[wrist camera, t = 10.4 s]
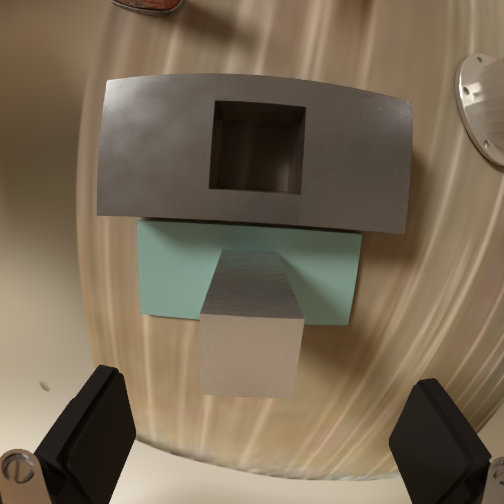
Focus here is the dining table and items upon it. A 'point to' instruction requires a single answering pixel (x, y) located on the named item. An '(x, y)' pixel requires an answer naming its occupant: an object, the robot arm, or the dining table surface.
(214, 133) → the rail
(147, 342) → the dining table surface
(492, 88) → the robot arm
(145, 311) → the mat
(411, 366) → the dining table surface
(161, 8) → the lighter
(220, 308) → the peg
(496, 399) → the dining table surface
